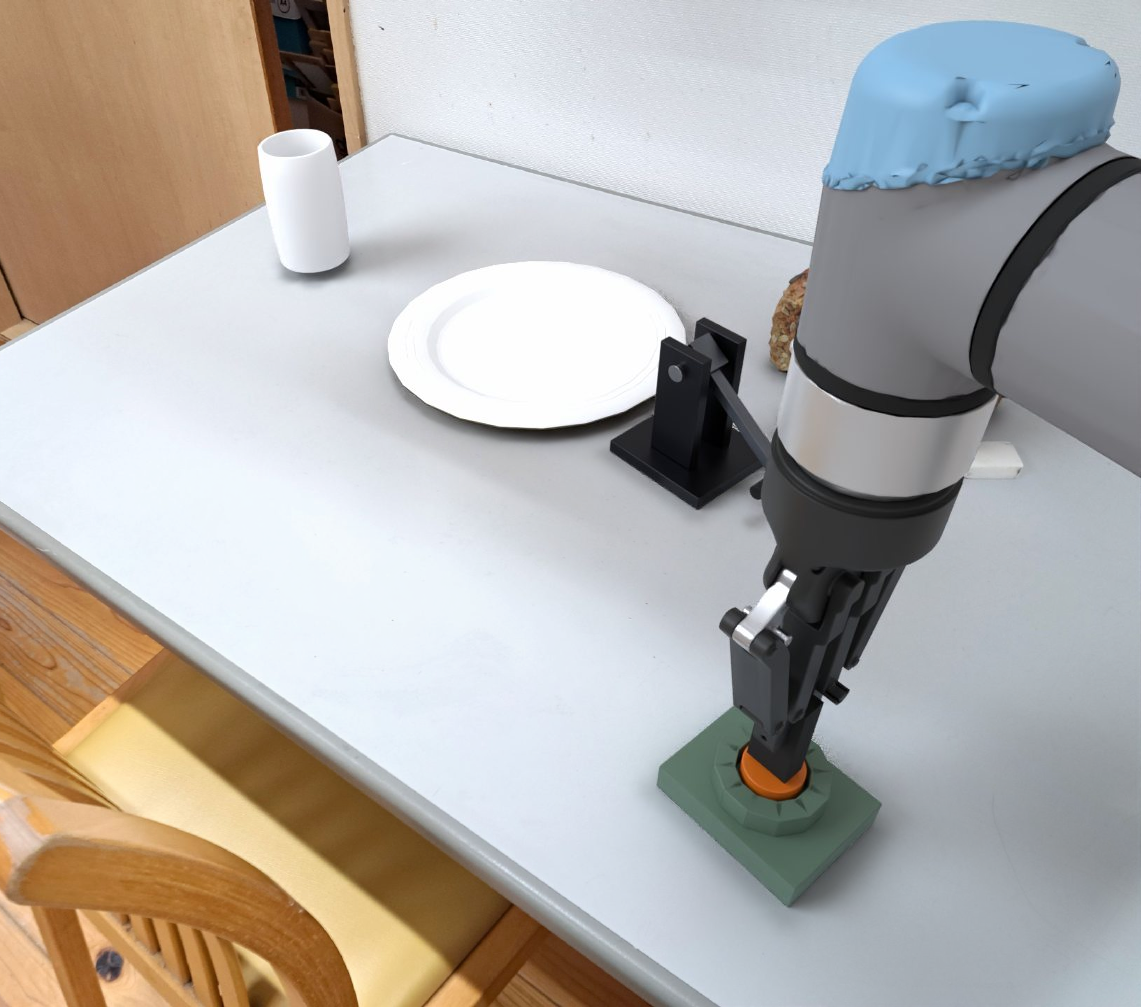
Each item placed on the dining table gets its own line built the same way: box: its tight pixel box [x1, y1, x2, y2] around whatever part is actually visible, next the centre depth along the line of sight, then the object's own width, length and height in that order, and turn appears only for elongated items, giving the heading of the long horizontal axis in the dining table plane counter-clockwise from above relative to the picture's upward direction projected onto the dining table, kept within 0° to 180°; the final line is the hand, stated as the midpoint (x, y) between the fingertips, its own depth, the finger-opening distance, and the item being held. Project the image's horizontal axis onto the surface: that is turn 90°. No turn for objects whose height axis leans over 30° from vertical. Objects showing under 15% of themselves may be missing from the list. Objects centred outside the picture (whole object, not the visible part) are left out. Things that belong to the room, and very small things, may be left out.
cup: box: [257, 128, 351, 274], centre depth 105 cm, size 8×8×14 cm
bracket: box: [609, 316, 763, 510], centre depth 78 cm, size 10×9×12 cm
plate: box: [387, 260, 687, 431], centre depth 94 cm, size 29×29×2 cm
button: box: [738, 746, 807, 802], centre depth 56 cm, size 4×4×2 cm
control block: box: [656, 705, 883, 908], centre depth 57 cm, size 10×8×4 cm
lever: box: [686, 333, 771, 501], centre depth 75 cm, size 13×6×2 cm
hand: (773, 760), depth 55 cm, fingers closed
